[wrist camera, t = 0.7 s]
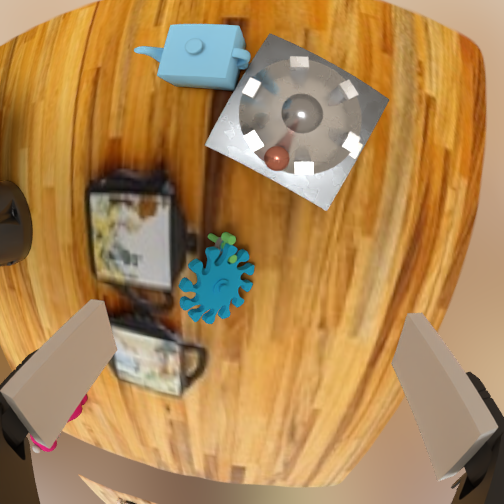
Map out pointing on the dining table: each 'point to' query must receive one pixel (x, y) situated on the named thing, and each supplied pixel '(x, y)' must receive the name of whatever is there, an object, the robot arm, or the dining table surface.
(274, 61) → the base plate
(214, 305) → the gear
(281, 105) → the grey rounded piece
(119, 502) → the spread jar
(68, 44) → the dining table surface
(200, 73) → the teapot
